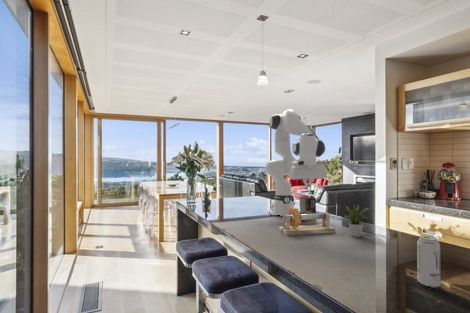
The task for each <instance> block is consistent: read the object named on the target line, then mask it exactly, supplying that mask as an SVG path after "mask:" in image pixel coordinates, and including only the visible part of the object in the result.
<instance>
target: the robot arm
mask: <svg viewBox="0 0 470 313" xmlns="http://www.w3.org/2000/svg"><path fill="white" fill-rule="evenodd" d="M269 127H270V128H271V130H272V129H273V130H275V132H274V152H275V153H276V154H277V155H279V156H280V157H281V158H282V159H281V160H280V159H279V160H278V159H273V160H269V161H267V163H266V164H265V172H266V173H267V175H269V176H271V178H272V179H273V181H274V182H273V183H274V185H275V186H274V187H275V194H274V200H273V201H272V203H271V204H270V205H269V208H270V209H268V210H267V212H268V211H269V212H270V213H269V212H268V213H269V214H270V215H271V214H272V215H271V216H277V215H280V216H279V217H283V214H287V215H288V211H289V209H290V208H295V204H294V202H293V201H292V200H293V195H292V183H291V182H289V181H288V180H286V179H285V178H284V176H289V177H290V179H291V180H302V182H303V184H304V187H305V188H311V187H312V184H313V182H314V180H319V179H320V180H321V179H323V180H324V179H326V178H327V177H326V164H325V163H324V162H323V161H317V158H320V157H321V156H322V155H324V154H325V152H326V145H325V142H323V141H322V139H320V138H319V137H318V136H317V135H316V132H314V130H313V129H312V128H311V127H310V126H309V125H308V124H306V123H304V121H302V120H301V116H300V115H299V114H298V113H296V111H295V110H293V109H291V108H290V109H286V110H284V111H283V113H282V114H281V113H280V114H272V115H271V116H270V117H269ZM290 135H293V136H294V135H295V136H300V137H299V139H297V140H295V141H294V142H293V143H292V147H291V136H290ZM291 148H292V150H291ZM293 154H294V155H295V156H298V157H299V159H296V158H295V157H294V155H293Z"/></svg>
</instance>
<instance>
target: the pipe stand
mask: <svg viewBox="0 0 470 313" xmlns="http://www.w3.org/2000/svg"><path fill="white" fill-rule="evenodd" d="M321 213H325V215H326V218H325V219H321V220H322V221H321V222H322V223H316V224H299V226H298V227H296V228H293V227H291V226H290V216H289V215H287V214H283V216H282V226H281V225H280V226H278V231H279V232H281V233H282V234H284V235H285V236H287V237H289V236H290V237H291V236H305V235H319V234H331V233H332V234H333V233H336V228H335V227H332V226H331V224H330V218H331V217H330V213H329V212H321ZM284 216H285V217H284ZM285 218H286V220H284V219H285Z"/></svg>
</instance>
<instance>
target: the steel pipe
mask: <svg viewBox="0 0 470 313" xmlns="http://www.w3.org/2000/svg"><path fill="white" fill-rule="evenodd" d="M289 216H290V221H292V220H294V216H293V215H291V214H290V215H289ZM284 217H285V216H284ZM325 218H326V215H325V213H322V212H321V213H320V212H319V213H317V212H316V214H300V220H307V219H316V220H320V219H321V220H322V219H325ZM284 220H286V218H285V219H284Z"/></svg>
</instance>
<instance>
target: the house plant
mask: <svg viewBox="0 0 470 313" xmlns="http://www.w3.org/2000/svg"><path fill="white" fill-rule="evenodd" d="M352 204H353V208H352V209H350V207H348V206H346V205H345V208H346V210H347V213H348V214H349V215H345V217H346V218H348V219H349V220H350V221H349V222H348V230H349V234H350V236H352V237H356V238H357V237H361V236H362V234H363V233H362V232H363V226H364V223H362V222H361V220H365V219H367V220H369V219H368V218H369V217H368V216H367V217H366V216H365V214H363V213H365V212H366V211H367V210H368V207H366V208H363V210H361V211H360V205H359V204H357V206H356V207H355V204H354V203H352ZM359 211H360V212H359Z"/></svg>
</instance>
